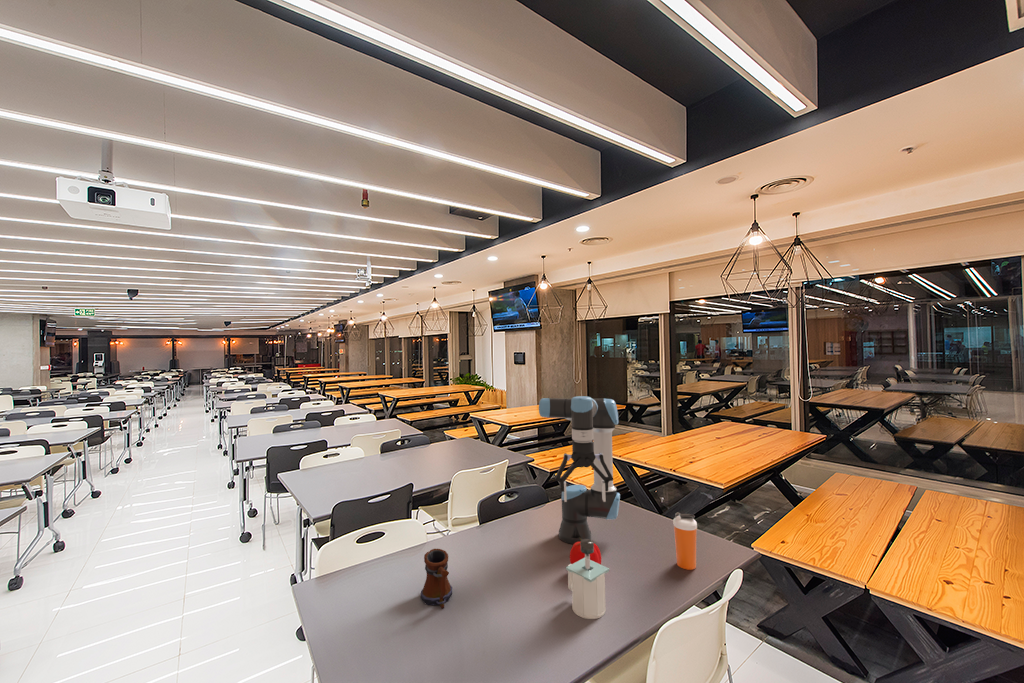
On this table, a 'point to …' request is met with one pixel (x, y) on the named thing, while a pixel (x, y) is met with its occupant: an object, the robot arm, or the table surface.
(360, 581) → the table surface
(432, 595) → the mug
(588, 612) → the press pot
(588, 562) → the plunger
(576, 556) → the tomato
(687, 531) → the shaker bottle
